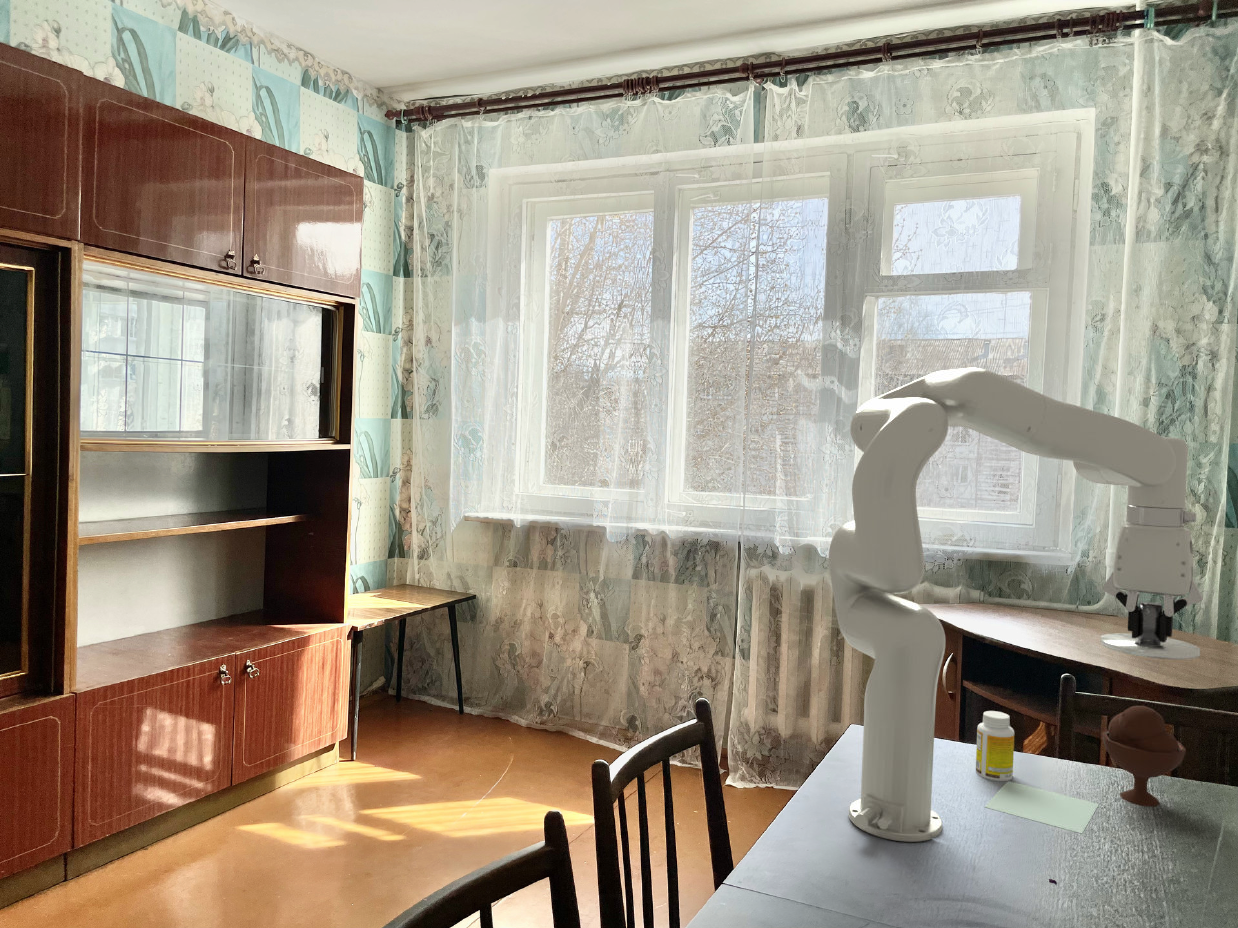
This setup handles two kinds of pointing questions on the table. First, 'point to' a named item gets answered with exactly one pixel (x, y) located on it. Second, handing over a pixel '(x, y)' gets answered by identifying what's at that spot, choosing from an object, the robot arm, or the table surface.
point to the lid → (1150, 638)
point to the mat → (1043, 806)
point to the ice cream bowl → (1142, 750)
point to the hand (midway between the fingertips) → (1149, 637)
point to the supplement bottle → (995, 747)
